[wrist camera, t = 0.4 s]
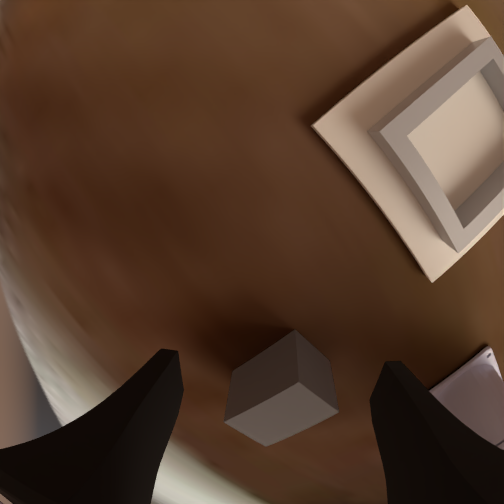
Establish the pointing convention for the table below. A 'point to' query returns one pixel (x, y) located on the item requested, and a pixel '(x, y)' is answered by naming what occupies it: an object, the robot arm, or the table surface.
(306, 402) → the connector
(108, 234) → the table surface
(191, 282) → the table surface
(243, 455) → the table surface
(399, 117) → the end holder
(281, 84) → the table surface
